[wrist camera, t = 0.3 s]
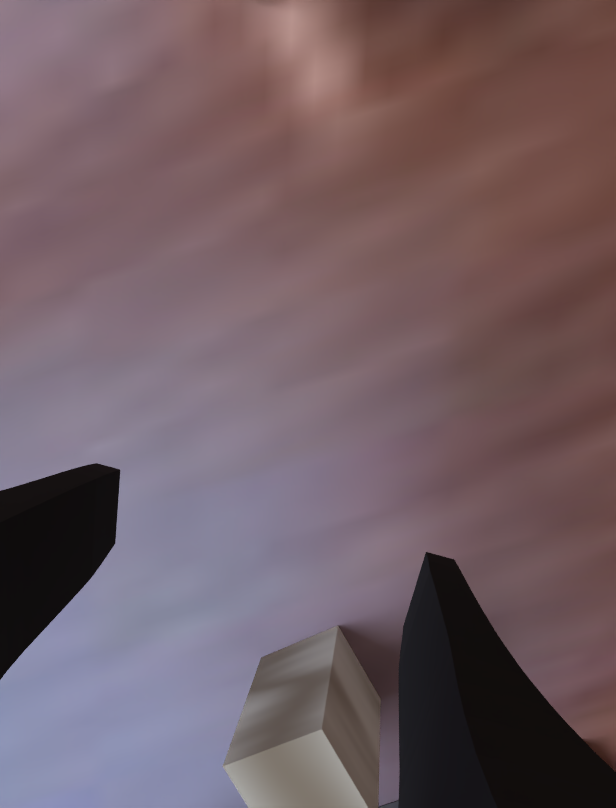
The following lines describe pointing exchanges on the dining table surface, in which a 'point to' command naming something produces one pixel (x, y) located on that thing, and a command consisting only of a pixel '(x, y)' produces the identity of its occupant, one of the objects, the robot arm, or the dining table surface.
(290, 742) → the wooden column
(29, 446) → the dining table surface
